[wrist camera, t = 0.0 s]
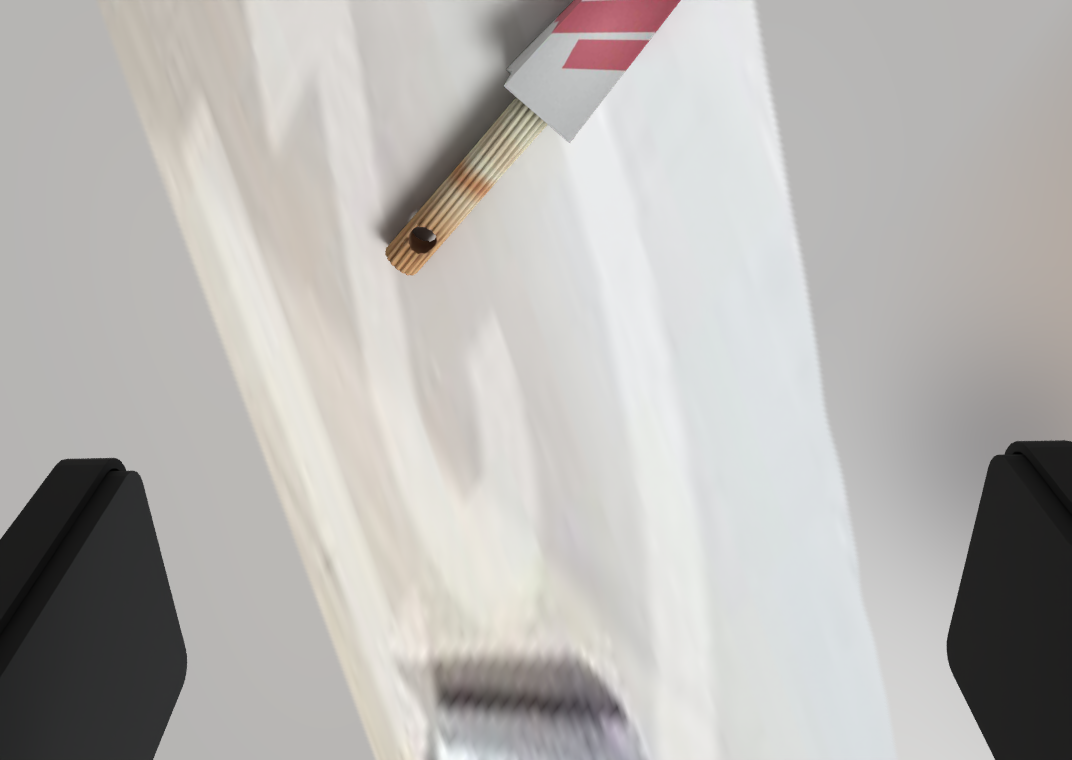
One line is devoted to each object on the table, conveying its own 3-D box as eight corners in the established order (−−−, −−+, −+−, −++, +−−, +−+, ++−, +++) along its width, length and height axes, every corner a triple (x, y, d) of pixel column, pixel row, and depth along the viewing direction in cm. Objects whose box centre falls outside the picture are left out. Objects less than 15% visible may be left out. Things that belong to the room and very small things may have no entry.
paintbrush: (733, -33, 40) (425, 297, 48) (723, -43, 42) (431, 273, 50) (665, -103, 39) (361, 248, 47) (659, -110, 41) (370, 225, 49)
